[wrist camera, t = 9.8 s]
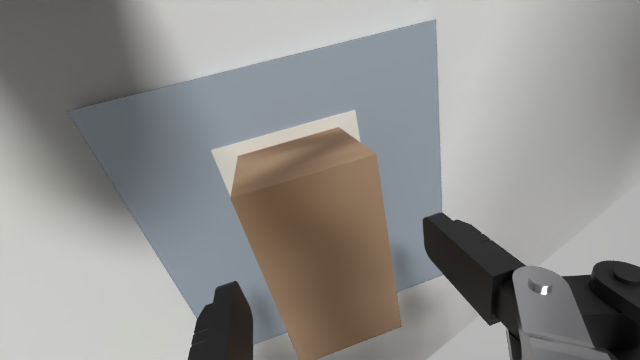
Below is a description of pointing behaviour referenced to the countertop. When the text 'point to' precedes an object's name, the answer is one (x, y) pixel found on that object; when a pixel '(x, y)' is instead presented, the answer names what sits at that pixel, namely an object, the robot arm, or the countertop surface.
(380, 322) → the walnut slab
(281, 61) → the plate
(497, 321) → the robot arm
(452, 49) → the countertop surface
